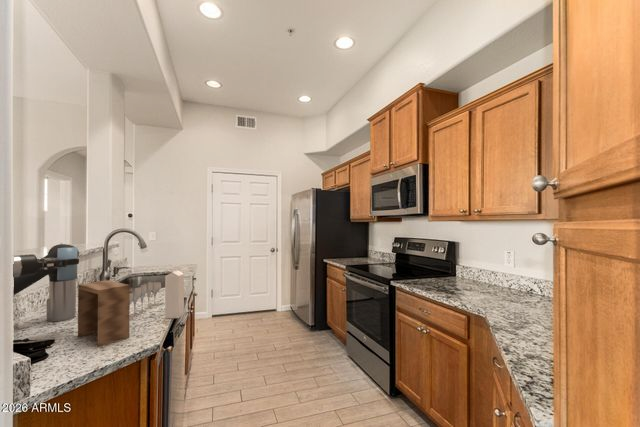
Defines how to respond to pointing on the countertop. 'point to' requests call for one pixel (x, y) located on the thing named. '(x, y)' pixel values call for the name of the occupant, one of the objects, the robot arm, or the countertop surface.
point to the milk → (174, 294)
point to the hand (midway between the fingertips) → (75, 260)
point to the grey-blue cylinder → (69, 270)
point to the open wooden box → (104, 310)
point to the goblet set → (143, 294)
